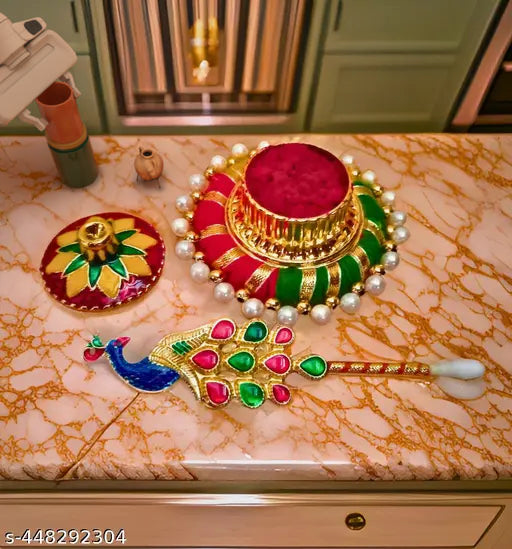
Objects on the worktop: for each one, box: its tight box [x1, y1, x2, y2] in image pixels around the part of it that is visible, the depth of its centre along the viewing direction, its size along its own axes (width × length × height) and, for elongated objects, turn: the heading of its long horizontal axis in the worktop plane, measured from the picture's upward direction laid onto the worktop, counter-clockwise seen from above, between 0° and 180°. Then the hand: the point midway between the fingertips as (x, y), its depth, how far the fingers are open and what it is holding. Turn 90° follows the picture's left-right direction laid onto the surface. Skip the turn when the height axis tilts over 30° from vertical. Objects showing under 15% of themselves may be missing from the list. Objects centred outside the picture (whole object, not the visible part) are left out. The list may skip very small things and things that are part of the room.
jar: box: [44, 121, 100, 189], centre depth 116 cm, size 8×8×12 cm
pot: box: [133, 146, 165, 188], centre depth 118 cm, size 6×8×6 cm
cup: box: [34, 80, 84, 144], centre depth 107 cm, size 7×7×9 cm
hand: (61, 112), depth 107 cm, fingers open, 8 cm apart
